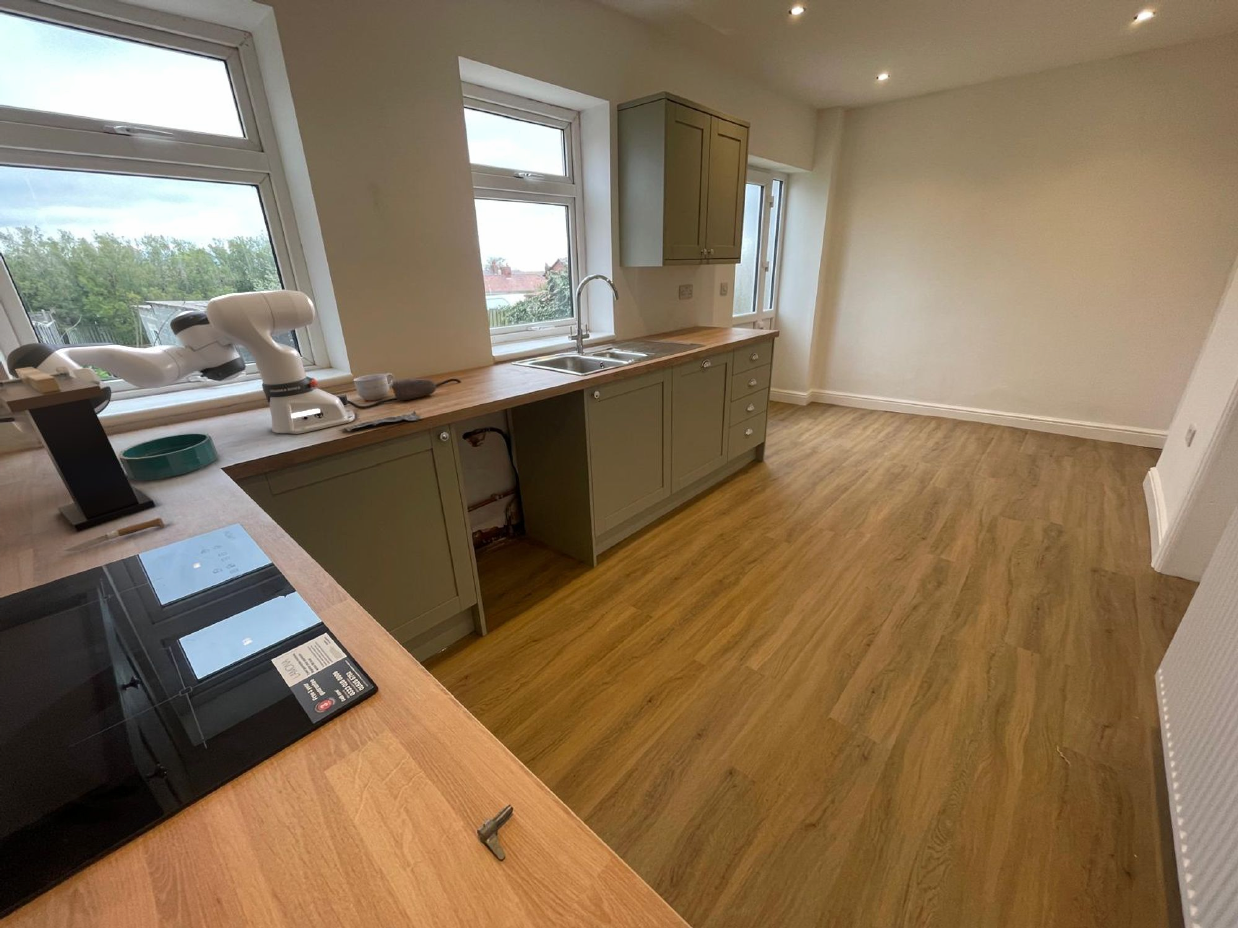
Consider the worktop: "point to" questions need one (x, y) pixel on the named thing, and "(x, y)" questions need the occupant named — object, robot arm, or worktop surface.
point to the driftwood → (386, 420)
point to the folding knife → (118, 534)
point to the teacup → (373, 386)
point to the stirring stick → (38, 379)
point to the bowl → (168, 456)
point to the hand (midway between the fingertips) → (29, 374)
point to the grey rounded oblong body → (413, 388)
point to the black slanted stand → (79, 451)
